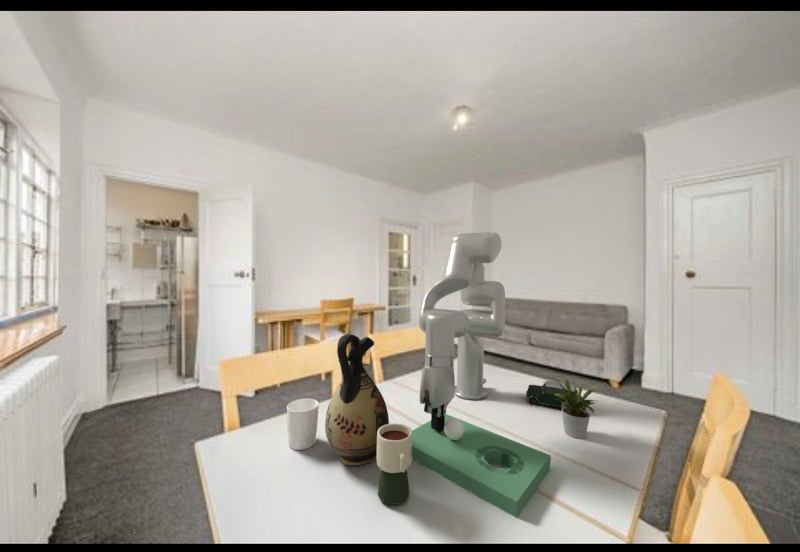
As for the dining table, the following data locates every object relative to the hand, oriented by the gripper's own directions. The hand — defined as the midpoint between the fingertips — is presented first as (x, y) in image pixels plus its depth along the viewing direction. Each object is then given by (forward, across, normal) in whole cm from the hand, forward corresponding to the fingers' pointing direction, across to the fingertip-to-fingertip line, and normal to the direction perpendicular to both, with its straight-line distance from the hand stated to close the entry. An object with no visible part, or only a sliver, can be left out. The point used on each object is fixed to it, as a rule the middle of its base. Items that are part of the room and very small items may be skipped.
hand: (437, 429), depth 80 cm
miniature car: (+4, -48, +14) cm, 51 cm away
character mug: (+4, +22, +5) cm, 23 cm away
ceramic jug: (+4, +19, -11) cm, 22 cm away
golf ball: (-2, 0, +5) cm, 5 cm away
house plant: (+4, -31, +24) cm, 39 cm away
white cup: (+4, +25, -25) cm, 36 cm away
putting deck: (+4, 0, +10) cm, 11 cm away
